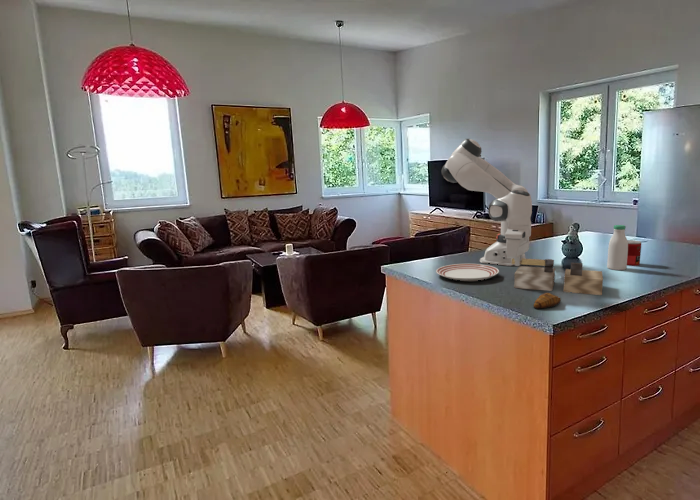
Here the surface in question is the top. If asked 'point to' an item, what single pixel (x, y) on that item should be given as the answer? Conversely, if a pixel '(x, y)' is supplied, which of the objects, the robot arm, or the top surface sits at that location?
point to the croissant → (546, 301)
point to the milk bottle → (618, 249)
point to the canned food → (633, 253)
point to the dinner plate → (467, 272)
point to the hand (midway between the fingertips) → (518, 265)
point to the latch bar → (536, 262)
